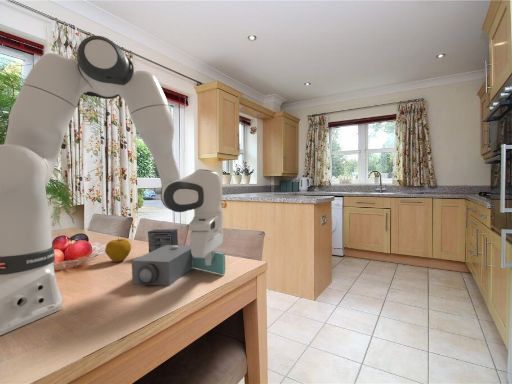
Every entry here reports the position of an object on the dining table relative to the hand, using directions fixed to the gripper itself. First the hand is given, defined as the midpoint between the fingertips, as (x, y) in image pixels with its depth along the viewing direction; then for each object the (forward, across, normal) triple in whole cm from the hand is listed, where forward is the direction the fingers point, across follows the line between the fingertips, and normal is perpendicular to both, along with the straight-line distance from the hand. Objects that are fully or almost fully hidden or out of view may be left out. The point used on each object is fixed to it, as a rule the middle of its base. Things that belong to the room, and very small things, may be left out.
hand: (209, 264), depth 85 cm
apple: (+4, -13, -41) cm, 44 cm away
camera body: (+4, 0, -15) cm, 15 cm away
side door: (+3, -4, -2) cm, 6 cm away
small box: (+4, -24, -28) cm, 37 cm away
